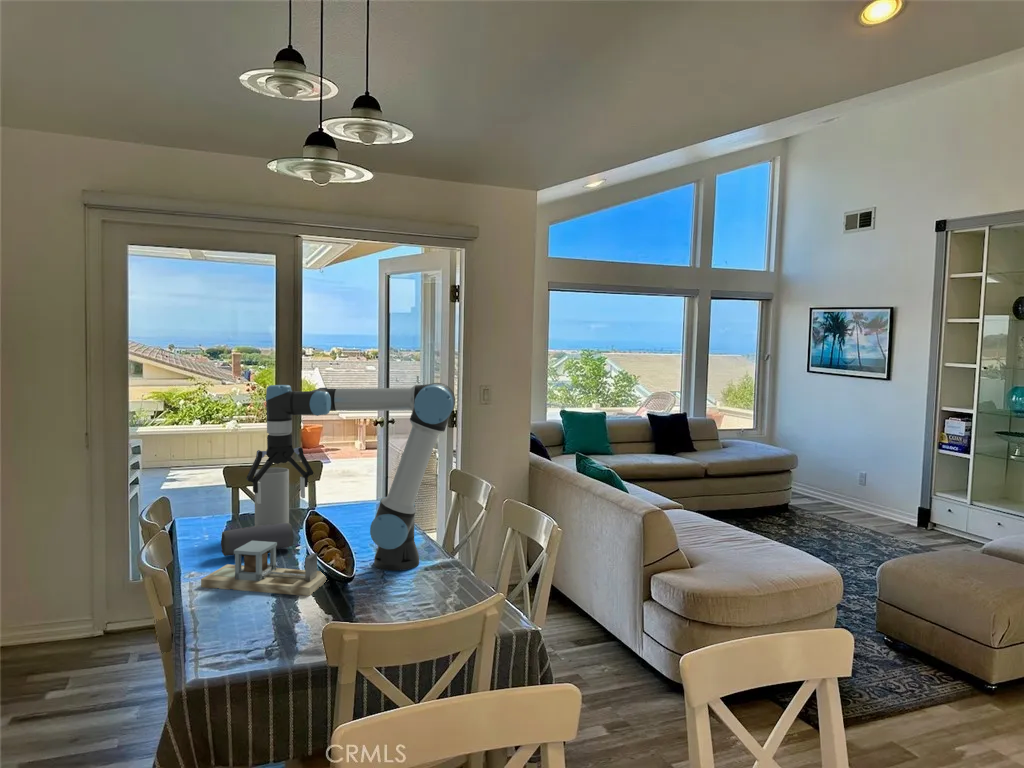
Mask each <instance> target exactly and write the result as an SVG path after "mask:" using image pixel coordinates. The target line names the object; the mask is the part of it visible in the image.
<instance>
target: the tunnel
mask: <svg viewBox="0 0 1024 768" xmlns="http://www.w3.org/2000/svg"><path fill="white" fill-rule="evenodd" d="M276 546H277V542H266V541H250V542H248V543H246V544H245V545H243V546H241V547H239V548H237V549H235V550H234V554H235V555H234V565H235V579H238V580H251V581H261V580H262V554H263V553H265V552H267V551H269V550H270V553H269V562H268V566H272V569H275V571H276V568H277V549H276ZM241 554H246V555H256V573H255V572H242V571H241V565H242V555H241Z"/></svg>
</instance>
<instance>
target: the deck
mask: <svg viewBox="0 0 1024 768" xmlns="http://www.w3.org/2000/svg"><path fill="white" fill-rule="evenodd" d="M242 569H244V564H243V565H242V564H241V570H242ZM321 571H322V570H317V576H316V577H315V578H313V579H312V580H311V581H305V579H304V578H291V577H278V576H267V577H266V578H264V579H263V578H262V580H261V581H251V580H238V579H235V564H229V563H227V564H225V565H223V566H222V567H220V568H218V569H216V570H215V571H212V572H211V573H210V574H207V575H205V576H204V577H202V578H200V587H201V588H206V589H207V588H208V589H217V588H219V589H220V590H230V589H233V591H243V592H256V593H268V594H281V595H295V596H305V597H306V596H307V597H309V596H311V595H312V594H314V593H315V592H316V591H317V590H319V589H320V588H321V587H322V586H323V585H325V584H326V583H327V582H326V580H327V578H326V576H325V575H324V574H323V573H322V572H321ZM275 572H281V573H294V574H305V569H296V568H295V569H294V568H285V567H284V568H283V567H282V568H281V567H276V571H275ZM325 582H326V583H325ZM324 583H325V584H324ZM319 587H320V588H319ZM313 592H314V593H313Z"/></svg>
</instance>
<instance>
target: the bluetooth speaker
mask: <svg viewBox="0 0 1024 768" xmlns="http://www.w3.org/2000/svg"><path fill="white" fill-rule="evenodd" d="M293 531H294V530H293V525H292V524H291V523H290V522H289V523H280V524H269V525H259V526H255V525H253V526H247V527H240V528H235V529H228V530H224V531H222V532H221V540H220V547H221V548H220V549H221V552H222V555H223V556H224V557H229V556H230V557H231V556H235V554H234V550H235V549H237V548H239V547H241V546H243V545H245V544H246V543H248V542H250V541H266V542H277V546H276V550H279V549H280V550H281V549H284V548H289V547H292V546H293V545H294V542H295V541H294V532H293ZM267 552H268V553H269V554H270V550H269V551H267ZM245 555H246V554H241V557H243V558H244V556H245Z"/></svg>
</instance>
